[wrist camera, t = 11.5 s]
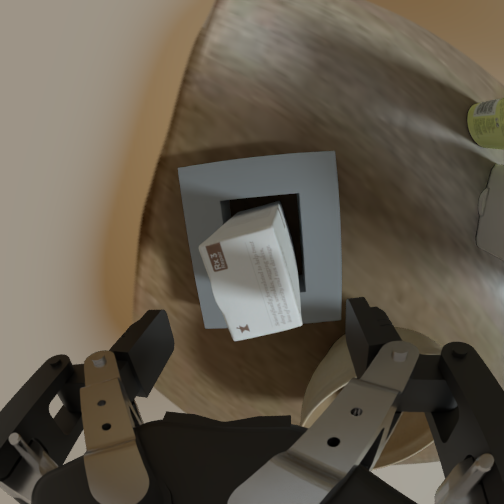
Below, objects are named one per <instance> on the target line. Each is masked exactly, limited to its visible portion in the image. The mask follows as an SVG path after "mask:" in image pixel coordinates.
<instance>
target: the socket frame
mask: <svg viewBox="0 0 504 504" xmlns="http://www.w3.org/2000/svg"><path fill="white" fill-rule="evenodd" d="M178 175H179V182H180V189H181V196H182V203H183V210H184V217H185V223H186V229H187V235H188V241H189V247H190V253H191V259H192V264H193V270H194V275H195V280H196V286H197V291H198V296H199V301H200V306H201V311H202V315H203V320H204V325H205V329H212V328H228V326H227V324H226V321H225V319H224V316H223V314H222V311H221V310H220V309H219V307H218V305H217V303H216V301H215V298H214V295H213V292H212V287H211V282H210V279H209V276H208V273H207V271H206V268H205V265H204V262H203V259H202V257H201V254H200V251H199V245H200V244H202V243H203V242H204V241H205V240H207V239H208V238H209V237H210V236H211V235H212V234H213V233H214V232H216V231H217V230H218V229H219V228H220V227H221V226H222V225H224V224H225V223H226V222H227V221H228V220H229V219H230V218H231V211H230V203H229V200H232V199H241V198H251V197H261V196H271V195H282V194H294V193H296V195H297V206H298V218H299V231H300V245H301V260H302V274H301V275H298V280H299V290H300V303H301V317H302V323H303V324H305V323H316V322H327V321H337V320H341V303H342V258H341V225H340V206H339V190H338V177H337V165H336V155H335V151H321V152H305V153H291V154H280V155H269V156H259V157H250V158H242V159H234V160H226V161H219V162H212V163H205V164H199V165H193V166H187V167H181V168H178Z"/></svg>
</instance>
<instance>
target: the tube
mask: <svg viewBox="0 0 504 504" xmlns="http://www.w3.org/2000/svg"><path fill="white" fill-rule="evenodd" d="M467 123H468V128H469V131H470V134H471V136H472V138H473V139H474V141H475V142H476V143H477V144H478V145H479V146H481V147H484V148H492V149H504V98H501V99H496V100H491V101H486V102H481V103H477V104H474V105H473V106H471V108H470V109H469V111H468V116H467Z"/></svg>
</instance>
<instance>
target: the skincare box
mask: <svg viewBox="0 0 504 504" xmlns="http://www.w3.org/2000/svg"><path fill="white" fill-rule="evenodd" d="M199 251H200V254H201V257H202V259H203V262H204V265H205V268H206V271H207V273H208V276H209V279H210V282H211V287H212V292H213V295H214V298H215V301H216V303H217V305H218V307H219V309H220V310H221V311H222V314H223V316H224V319H225V321H226V324H227V326H228V329H229V331H230V334H231V336H232V338H233V340H234V341H239V340H245V339H250V338H254V337H259V336H264V335H268V334H272V333H277V332H281V331H285V330H289V329H292V328H296V327H299V326H302V324H303V323H302V317H301V303H300V290H299V280H298V270H297V260H296V255H295V250H294V245H293V241H292V237H291V233H290V230H289V226H288V223H287V219H286V216H285V213H284V210H283V207H282V204H281V202H280V201H276V202H273V203H269V204H266V205H262V206H259V207H255V208H251V209H248V210H244V211H240V212H237V213H236V214H235V215H234V216H233V217H232V218H230V219H229V220H228V221H227V222H226V223H225V224H224V225H222V226H221V227H220V228H219V229H218V230H217V231H216V232H214V233H213V234H212V235H211V236H210V237H209V238H208V239H207V240H205V241H204V242H203V243H202V244H200V245H199Z"/></svg>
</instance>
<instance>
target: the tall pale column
mask: <svg viewBox="0 0 504 504" xmlns="http://www.w3.org/2000/svg"><path fill="white" fill-rule="evenodd" d="M478 212H479V215H480V216H479V222H478V228H477V233H476V245H477V246H478V247H479V248H480V249H482V250H484V251H486V252H488V253H490V254H492V255H494V256H495V257H497V258H499V259H501V260H503V261H504V165H494V167H493V168H492V170H491V173H490V177H489V180H488V183H487V186H486V189H485V190H483V192H482V193H481V195H480V198H479V203H478Z"/></svg>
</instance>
